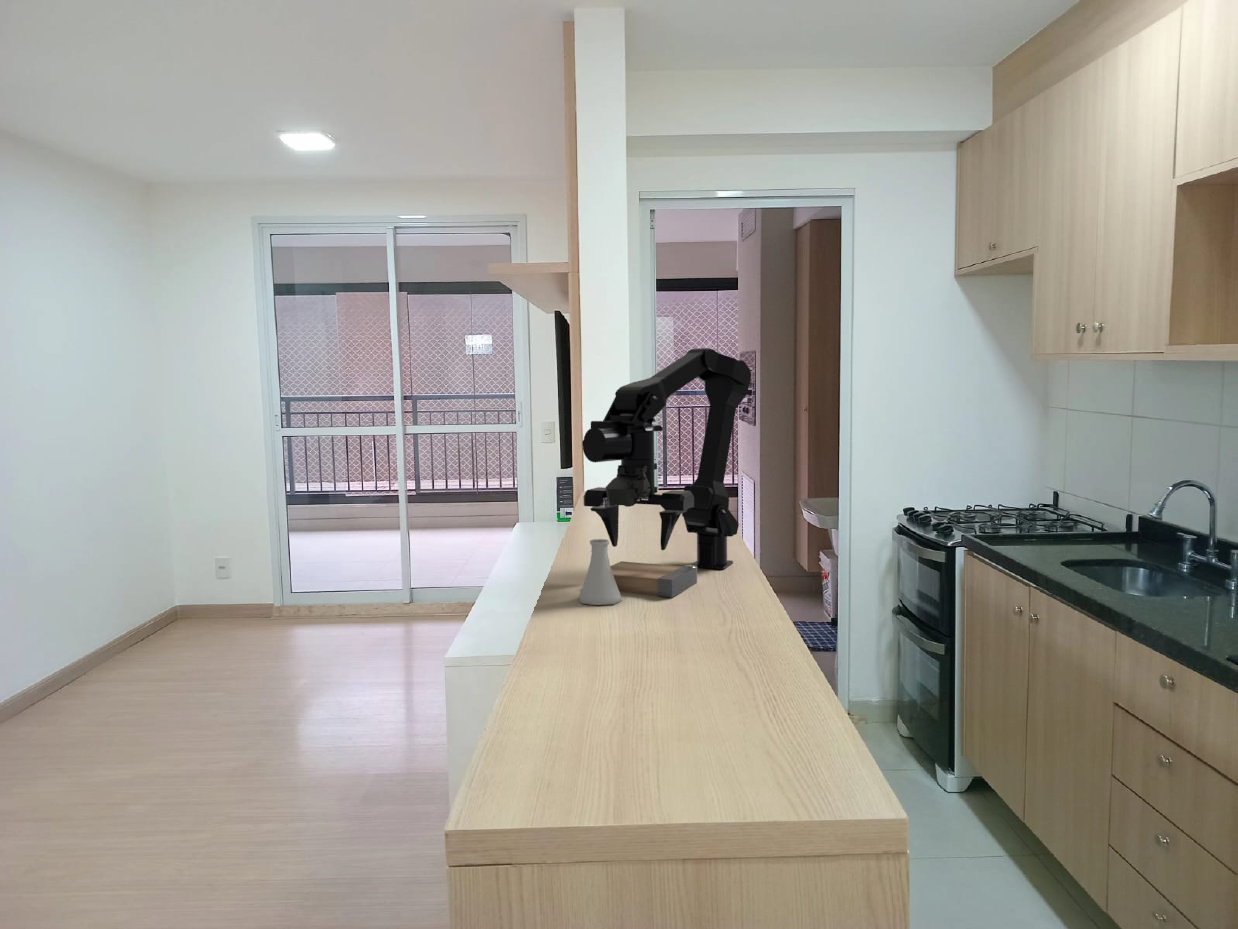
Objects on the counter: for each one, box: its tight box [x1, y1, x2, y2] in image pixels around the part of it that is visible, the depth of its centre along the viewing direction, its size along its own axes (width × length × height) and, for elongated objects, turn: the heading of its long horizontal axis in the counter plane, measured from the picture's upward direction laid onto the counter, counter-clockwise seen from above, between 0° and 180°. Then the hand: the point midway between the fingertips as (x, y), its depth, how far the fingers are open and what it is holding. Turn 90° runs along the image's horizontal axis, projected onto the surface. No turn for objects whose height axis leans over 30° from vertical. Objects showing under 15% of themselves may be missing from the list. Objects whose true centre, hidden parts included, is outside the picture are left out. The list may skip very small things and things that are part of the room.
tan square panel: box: [610, 561, 683, 597], centre depth 149 cm, size 11×12×3 cm
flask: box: [578, 538, 623, 606], centre depth 139 cm, size 7×7×10 cm
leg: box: [657, 564, 698, 599], centre depth 146 cm, size 12×2×3 cm, turn 153°
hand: (638, 548), depth 149 cm, fingers open, 9 cm apart
